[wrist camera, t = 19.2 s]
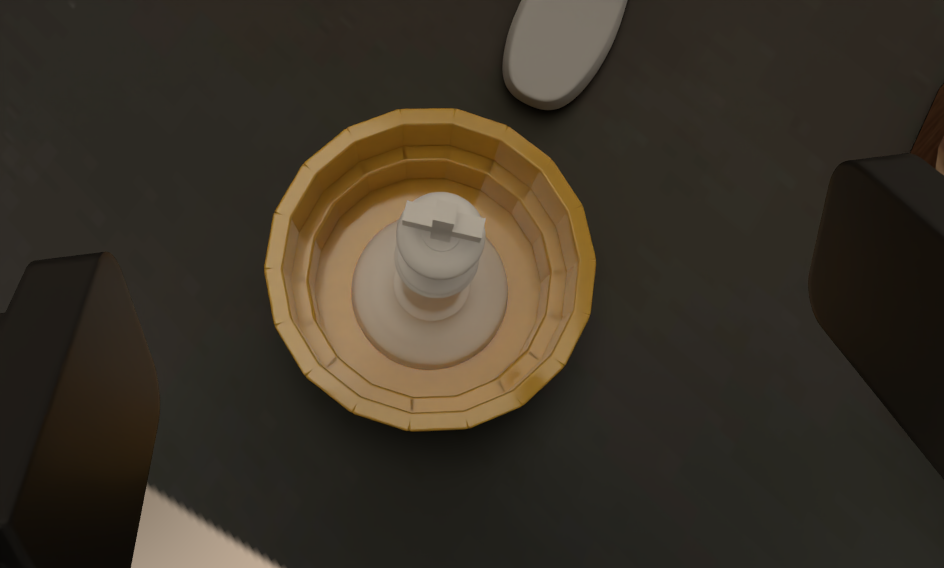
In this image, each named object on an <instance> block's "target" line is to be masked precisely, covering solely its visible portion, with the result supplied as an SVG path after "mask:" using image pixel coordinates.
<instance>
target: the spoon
mask: <svg viewBox="0 0 944 568" xmlns="http://www.w3.org/2000/svg"><path fill="white" fill-rule="evenodd" d="M626 4H627V0H521V2H520V4H519V6H518V9H517V11H516V13H515V16H514V18H513V21H512V24H511V26H510V29H509V33H508V36H507V40H506V44H505V49H504V54H503V63H502V72H503V79H504V82H505V85H506V87H507V89H508V90H509V92H510V93H511V94H512V95H513V96H514V97H515V98H517V99H518V100H520V101H521V102H523V103H525V104H527V105H529V106H532V107H534V108H537V109H542V110H554V109H558V108H561V107H563V106H565V105H567V104H568V103H570V102H571V101H572V100H573V99H575V98H576V97H577V96H578V95H579V94H580V93H581V92H582V91H583V90H584V88H585V87H586V86H587V85H588V84H589V82H590V81H591V80H592V78H593V77H594V76H595V74H596V73H597V71H598V70H599V68H600V66H601V65H602V63H603V61H604V60H605V58H606V56H607V54H608V52H609V50H610V48H611V46H612V44H613V42H614V39H615V37H616V34H617V32H618V29H619V26H620V23H621V20H622V17H623V14H624V11H625V7H626Z"/></svg>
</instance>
